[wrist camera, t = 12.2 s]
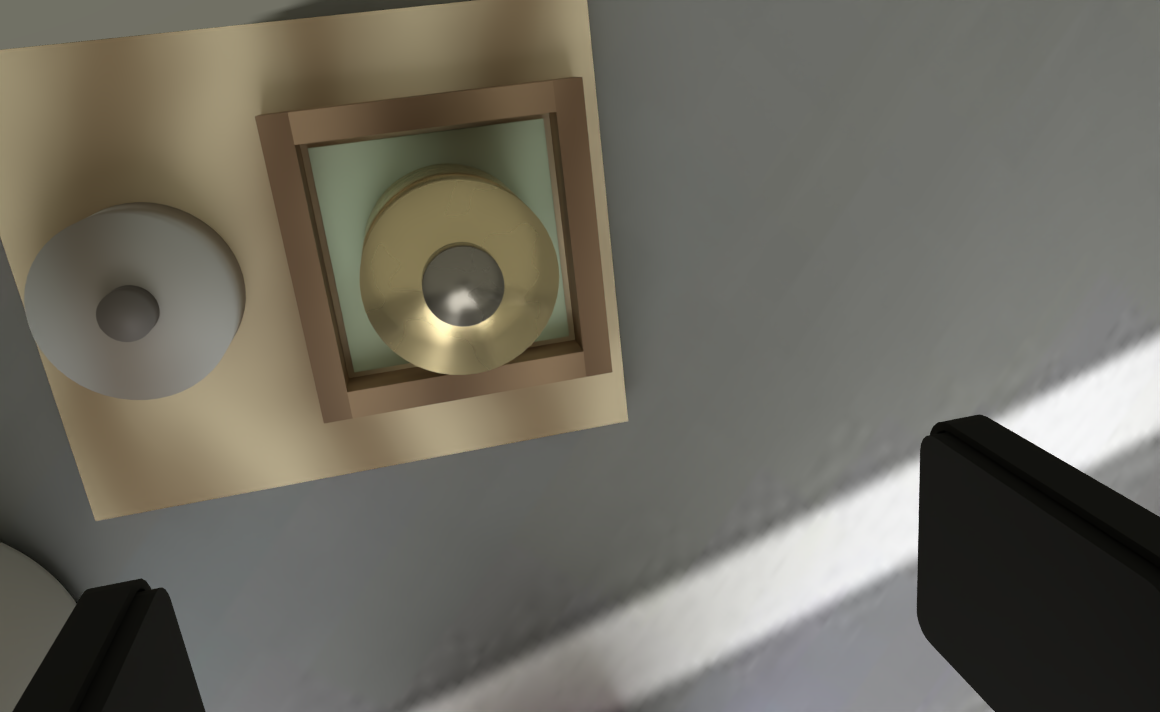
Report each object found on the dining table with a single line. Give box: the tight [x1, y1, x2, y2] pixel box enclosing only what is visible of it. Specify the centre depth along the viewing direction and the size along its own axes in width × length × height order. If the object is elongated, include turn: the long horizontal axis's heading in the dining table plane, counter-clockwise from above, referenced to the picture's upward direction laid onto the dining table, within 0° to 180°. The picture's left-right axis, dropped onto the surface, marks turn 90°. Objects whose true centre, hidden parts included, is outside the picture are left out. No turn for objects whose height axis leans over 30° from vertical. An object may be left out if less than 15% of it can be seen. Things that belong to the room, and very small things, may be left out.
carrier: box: [0, 0, 628, 521], centre depth 30 cm, size 20×16×5 cm
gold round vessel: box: [360, 163, 559, 375], centre depth 28 cm, size 6×6×6 cm
